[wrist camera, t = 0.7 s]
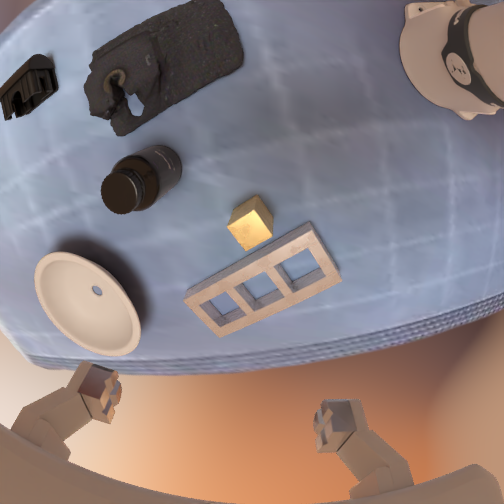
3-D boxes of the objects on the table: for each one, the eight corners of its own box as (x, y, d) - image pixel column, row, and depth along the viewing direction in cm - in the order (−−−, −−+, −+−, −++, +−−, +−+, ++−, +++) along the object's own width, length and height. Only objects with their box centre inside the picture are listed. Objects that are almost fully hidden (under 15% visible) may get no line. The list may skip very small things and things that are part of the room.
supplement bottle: (187, 149, 36) (152, 170, 26) (177, 195, 40) (144, 231, 29) (142, 140, 36) (95, 158, 25) (135, 184, 39) (92, 216, 29)
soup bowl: (148, 348, 57) (138, 371, 51) (58, 310, 55) (44, 328, 49) (159, 258, 45) (144, 282, 40) (48, 219, 43) (26, 235, 37)
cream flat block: (309, 221, 40) (311, 230, 37) (338, 269, 44) (342, 280, 41) (187, 289, 48) (182, 300, 45) (222, 326, 51) (219, 337, 49)
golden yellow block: (257, 194, 39) (254, 210, 34) (273, 217, 40) (272, 236, 35) (233, 209, 40) (226, 226, 35) (249, 230, 42) (245, 251, 36)
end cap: (53, 53, 28) (26, 53, 23) (61, 88, 32) (33, 90, 26) (18, 84, 30) (-8, 88, 24) (26, 116, 34) (-1, 123, 28)
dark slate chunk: (257, 80, 32) (254, 77, 28) (114, 141, 37) (97, 148, 32) (219, -12, 25) (211, -25, 21) (84, 58, 30) (66, 57, 26)
